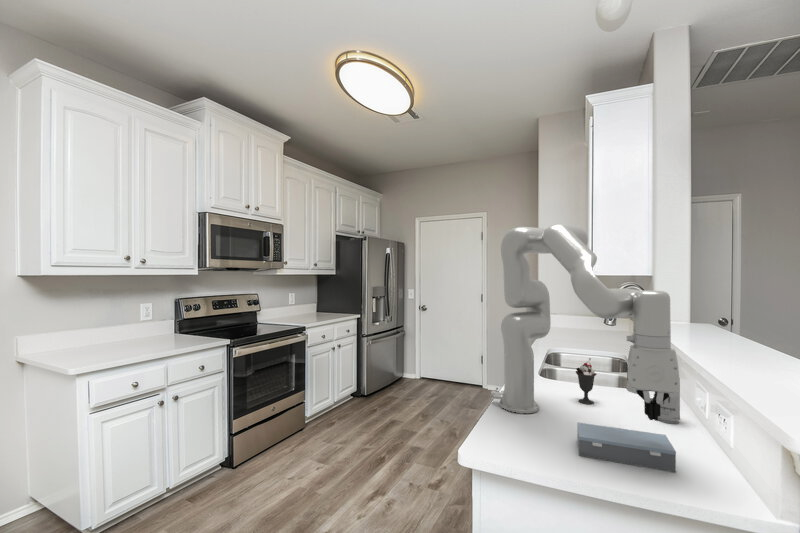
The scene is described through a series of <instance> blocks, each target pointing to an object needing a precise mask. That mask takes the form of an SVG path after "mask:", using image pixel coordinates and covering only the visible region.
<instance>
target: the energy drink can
mask: <svg viewBox="0 0 800 533" xmlns="http://www.w3.org/2000/svg"><path fill="white" fill-rule="evenodd" d="M679 379H681V378H680V377H679ZM676 383H677V382H676ZM680 391H681V390H679V394H680V395H679V396H678V397H668V398H667V399H666V400H664V401H663V402H662V404H660V414H661V415H660V416H658V420H659V421H660V422H663V423H666V424H678V422H679V421H680V420H681V392H680Z"/></svg>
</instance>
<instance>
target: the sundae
mask: <svg viewBox="0 0 800 533" xmlns="http://www.w3.org/2000/svg"><path fill="white" fill-rule="evenodd" d="M588 360H592V358H590V357H589V358H588ZM575 369H576V370H575V374H576V375H577V378H578V385H579V388H580V390H581V391H583V393H584V397H583V398H579V399H578V403H580V404H582V405H594V404H595V402H594V401H593V400H591V399H589V392H591V391H592V390H593V387H594V382H595V377H596V376H597V373H595V370H594V369H593V368H592V364H589V363H588V362H584V363H583V364H581V366H580V367H576V368H575Z"/></svg>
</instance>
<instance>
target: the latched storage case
mask: <svg viewBox="0 0 800 533" xmlns="http://www.w3.org/2000/svg"><path fill="white" fill-rule="evenodd" d="M576 432H577V434H576V435H577V448H578V456H580V457H584V458H585V457H586V458H593V459H598V460H603V461H609V462H614V463H621V464H624V465H625V464H626V465H632V466H637V467H644V468H648V469H655V470H661V471H666V472H673V473H677V468H676V465H677V464H676V463H677V462H676V461H677V460H676V459H677V457H676V456H677V454H676V455H673V454H667V453H660V452H654V451H648V450H641V449H635V448H629V447H622V446H616V445H610V444H603V443H597V442H591V441H584V440H579V435H578V426H577V431H576Z"/></svg>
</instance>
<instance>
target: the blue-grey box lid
mask: <svg viewBox="0 0 800 533" xmlns="http://www.w3.org/2000/svg"><path fill="white" fill-rule="evenodd" d="M576 425H577V426H578V435H579V440H584V441H591V442H597V443H603V444H610V445H616V446H622V447H629V448H635V449H641V450H648V451H654V452H660V453H667V454H673V455H676V456H677V451H676V449H675V448H674V446H673V444H672V443H671V441H670V440H669V438H668V436H667V435H666V434H663V433H656V432H647V431H642V430H641V431H640V430H635V429H634V430H633V429H627V428H619V427H614V426H606V425H601V424H600V425H598V424H591V423H585V422H577V424H576Z"/></svg>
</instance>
